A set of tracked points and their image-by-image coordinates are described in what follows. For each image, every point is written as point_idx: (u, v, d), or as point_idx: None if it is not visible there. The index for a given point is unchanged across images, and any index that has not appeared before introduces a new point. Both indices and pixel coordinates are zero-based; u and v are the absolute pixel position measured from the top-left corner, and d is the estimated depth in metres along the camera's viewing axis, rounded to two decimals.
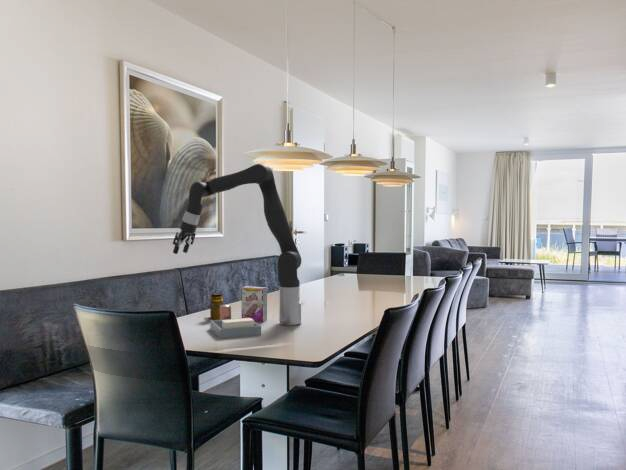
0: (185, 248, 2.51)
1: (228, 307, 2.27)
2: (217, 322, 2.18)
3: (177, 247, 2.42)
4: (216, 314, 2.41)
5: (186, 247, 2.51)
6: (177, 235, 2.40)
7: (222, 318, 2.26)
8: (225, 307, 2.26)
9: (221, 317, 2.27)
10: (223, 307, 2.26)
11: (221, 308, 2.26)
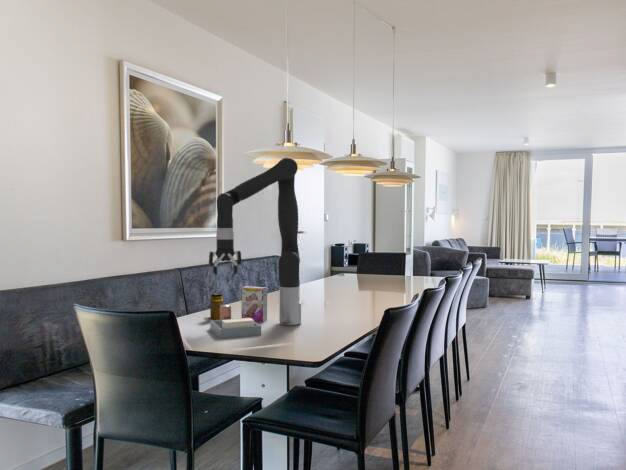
0: (233, 269, 2.29)
1: (228, 307, 2.27)
2: (217, 322, 2.18)
3: (214, 267, 2.25)
4: (216, 314, 2.41)
5: (233, 268, 2.29)
6: (209, 254, 2.25)
7: (222, 318, 2.26)
8: (225, 307, 2.26)
9: (221, 317, 2.27)
10: (223, 307, 2.26)
11: (221, 308, 2.26)
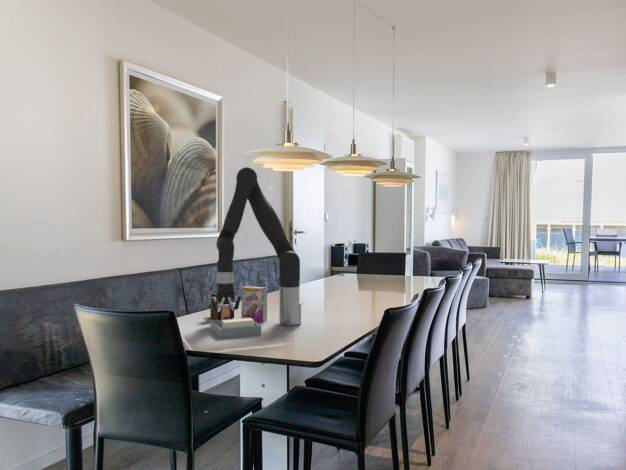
0: None
1: (228, 307, 2.27)
2: (217, 322, 2.18)
3: (218, 312, 2.26)
4: (216, 314, 2.41)
5: None
6: (210, 300, 2.26)
7: (222, 318, 2.26)
8: (225, 307, 2.26)
9: (221, 317, 2.27)
10: (223, 307, 2.26)
11: (221, 308, 2.26)
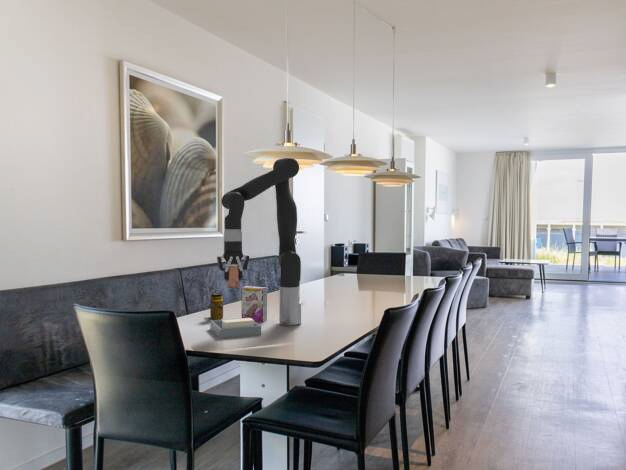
0: None
1: (236, 267, 2.13)
2: (217, 322, 2.18)
3: (225, 272, 2.13)
4: (216, 314, 2.41)
5: (239, 273, 2.16)
6: (217, 259, 2.12)
7: (230, 278, 2.13)
8: (233, 267, 2.12)
9: (229, 277, 2.13)
10: (231, 267, 2.12)
11: (229, 268, 2.13)
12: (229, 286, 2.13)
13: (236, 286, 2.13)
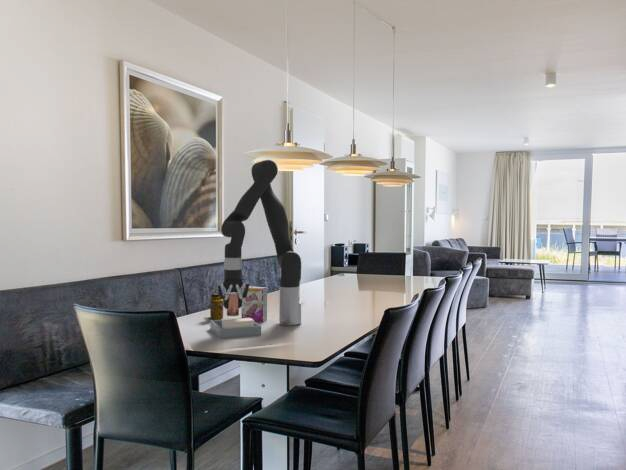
0: None
1: (236, 295, 2.14)
2: (217, 322, 2.18)
3: (225, 301, 2.13)
4: (216, 314, 2.41)
5: None
6: (217, 288, 2.13)
7: (229, 306, 2.13)
8: (233, 295, 2.13)
9: (228, 305, 2.14)
10: (230, 295, 2.13)
11: (228, 296, 2.13)
12: (229, 314, 2.14)
13: (236, 314, 2.14)
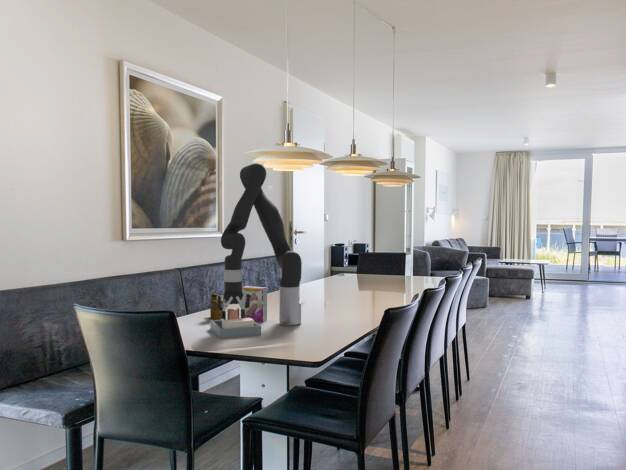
0: (241, 313, 2.17)
1: (236, 310, 2.14)
2: (217, 322, 2.18)
3: (223, 312, 2.13)
4: (216, 314, 2.41)
5: (241, 312, 2.17)
6: (217, 298, 2.13)
7: None
8: (233, 310, 2.13)
9: None
10: (231, 310, 2.13)
11: (229, 311, 2.14)
12: None
13: None
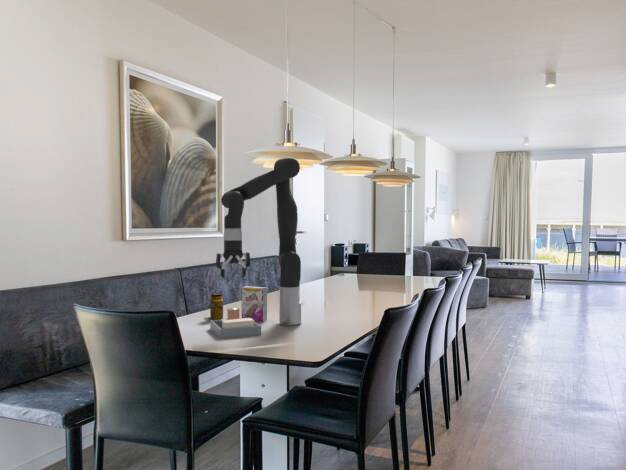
0: (242, 272, 2.17)
1: (236, 310, 2.14)
2: (217, 322, 2.18)
3: (221, 270, 2.12)
4: (216, 314, 2.41)
5: (242, 270, 2.16)
6: (216, 256, 2.12)
7: None
8: (233, 310, 2.13)
9: None
10: (231, 310, 2.13)
11: (229, 311, 2.14)
12: None
13: None
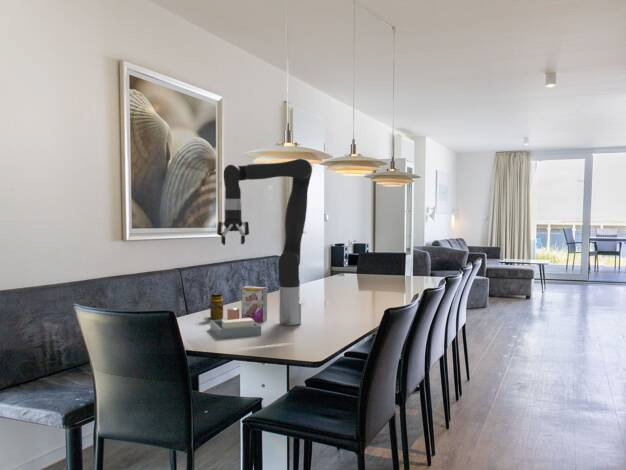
0: (241, 240, 2.35)
1: (236, 310, 2.14)
2: (217, 322, 2.18)
3: (222, 237, 2.31)
4: (216, 314, 2.41)
5: (241, 238, 2.35)
6: (218, 224, 2.31)
7: None
8: (233, 310, 2.13)
9: None
10: (231, 310, 2.13)
11: (229, 311, 2.13)
12: None
13: None
